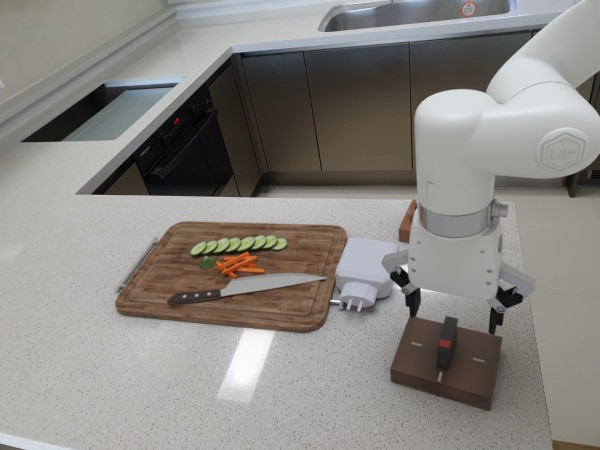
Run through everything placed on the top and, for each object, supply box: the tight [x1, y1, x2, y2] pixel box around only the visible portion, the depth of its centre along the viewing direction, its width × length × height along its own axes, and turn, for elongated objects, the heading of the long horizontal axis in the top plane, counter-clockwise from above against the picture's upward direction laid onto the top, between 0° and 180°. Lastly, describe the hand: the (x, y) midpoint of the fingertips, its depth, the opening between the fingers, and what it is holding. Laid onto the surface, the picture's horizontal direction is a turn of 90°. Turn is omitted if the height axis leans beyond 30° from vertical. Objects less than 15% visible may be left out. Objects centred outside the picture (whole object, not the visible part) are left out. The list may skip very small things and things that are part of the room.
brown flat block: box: [389, 315, 503, 412], centre depth 64 cm, size 13×10×3 cm
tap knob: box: [436, 315, 459, 370], centre depth 62 cm, size 6×2×4 cm, turn 154°
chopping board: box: [114, 220, 348, 334], centre depth 88 cm, size 45×27×3 cm, turn 75°
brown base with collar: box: [398, 199, 417, 244], centre depth 87 cm, size 12×10×5 cm
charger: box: [335, 237, 400, 313], centre depth 78 cm, size 5×9×15 cm
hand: (452, 317), depth 59 cm, fingers open, 9 cm apart
